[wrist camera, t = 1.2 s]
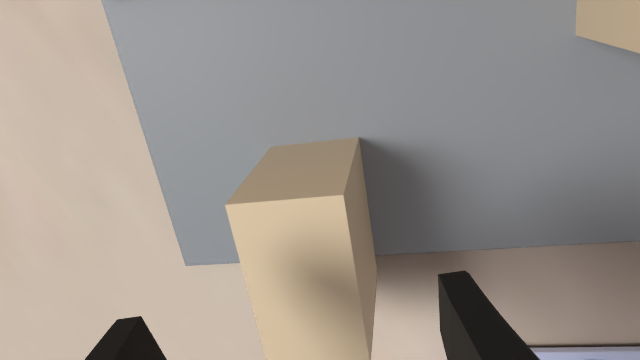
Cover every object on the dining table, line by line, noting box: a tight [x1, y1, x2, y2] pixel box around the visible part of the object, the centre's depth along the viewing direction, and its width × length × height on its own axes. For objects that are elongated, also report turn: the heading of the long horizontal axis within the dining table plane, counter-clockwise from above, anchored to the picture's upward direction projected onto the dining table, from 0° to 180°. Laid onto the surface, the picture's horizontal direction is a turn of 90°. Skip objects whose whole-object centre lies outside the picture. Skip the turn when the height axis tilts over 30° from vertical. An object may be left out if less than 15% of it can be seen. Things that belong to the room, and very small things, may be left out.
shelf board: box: [101, 0, 640, 266], centre depth 18 cm, size 15×28×2 cm, turn 99°
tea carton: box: [225, 137, 377, 360], centre depth 19 cm, size 7×4×6 cm, turn 9°
